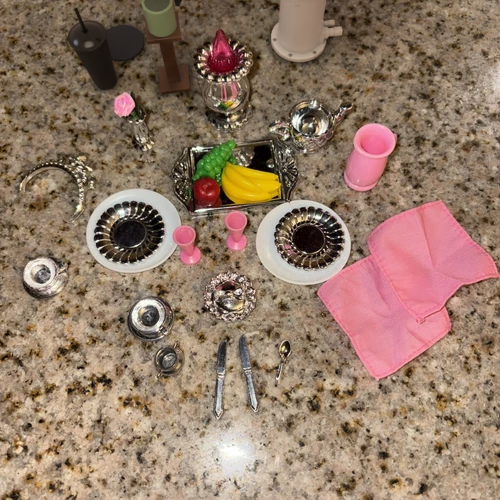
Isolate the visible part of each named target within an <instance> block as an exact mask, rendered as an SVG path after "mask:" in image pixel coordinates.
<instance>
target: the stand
mask: <svg viewBox="0 0 500 500" xmlns="http://www.w3.org/2000/svg"><path fill="white" fill-rule="evenodd" d="M174 11H175V16H176V21H177V27H176V30H175V31H174V32H173V33H172V34H171V35H169V36H166V37H157V36H154V35H153V34H151V33H150V32H149V30H148V27H147V23H146V19H145V16H144V28H145V39H146V45H148V46H149V45H156V44H158V46H159V50H160V53H161V58H162V62H163V65H164V66H160V67H158V70H157V71H158V79H159V81H158V82H159V90H160V95H169V94H178V93H186V92H187V93H188V92H191V91H192V90H191V89H192V88H191V81H190V73H189V65H188V63H186V64H179V63H178V58H177V54H176V53H177V52H176V49H175V43H176V42H180V41H182V32H181V24H180V15H179V11H178V10H174ZM174 42H175V43H174Z"/></svg>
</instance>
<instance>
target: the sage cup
mask: <svg viewBox="0 0 500 500" xmlns="http://www.w3.org/2000/svg"><path fill="white" fill-rule="evenodd" d="M174 5H175V4H174V0H141V9H142V11H143V15H144V16H145V17H144V20H145V19H146V23H147V27H148V30H149V32H150V33H151V34H153V35H154V36H157V37H166V36H169V35H171V34H172V33H173V32H174V31H175V30H176V27H177V21H176V16H175V11H176V10H175V6H174Z"/></svg>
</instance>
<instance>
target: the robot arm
mask: <svg viewBox="0 0 500 500" xmlns="http://www.w3.org/2000/svg"><path fill="white" fill-rule="evenodd" d="M182 1H183V0H173V2H174V5H175V7H181V4H182ZM326 6H327V0H280V1H279V13H278V22H277V23H276V24H275V25H274V26H273V28H272V30H271V34H270V43H271V47H272V49H273V50H274V52H275V53H276V54H277V55H278V56H279V57H280V58H282V59H284V60H286V61H289V62H292V63H305V62H310V61H312V60H315V59H316V58H318V57H319V56H321V54H322V53H323V51H325V48H326V44H327V40H328V39H329V37H341V36H342V35H343V27H342V26H335V23H336V22H335V19H327V20H324V17H325V12H326V11H325V10H326Z"/></svg>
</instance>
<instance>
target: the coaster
mask: <svg viewBox="0 0 500 500" xmlns="http://www.w3.org/2000/svg"><path fill="white" fill-rule="evenodd" d="M106 32H107V41H108V45H109V49H110V53H111V57H112V61H115V62H125V61H130V60H132V59H134V58H135V57H137V56H138V55H139V54H140V53H141V52H142V51H143V48H144V45H145V39H144V35H143V33H142V32H141V31H140V30H139V29H138V28H137V27H135V26H133V25H130V24H118V25H115V26H112V27H110V28H108V29H106Z"/></svg>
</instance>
